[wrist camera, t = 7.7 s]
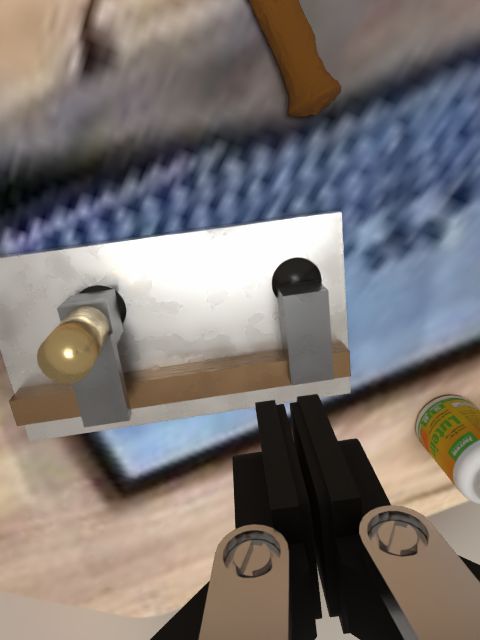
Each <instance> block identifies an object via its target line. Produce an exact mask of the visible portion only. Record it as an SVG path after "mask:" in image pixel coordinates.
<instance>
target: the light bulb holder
mask: <svg viewBox="0 0 480 640" xmlns="http://www.w3.org/2000/svg"><path fill="white" fill-rule="evenodd" d="M57 310H58V314H59V318H60V324H59V325H58V326H57V327H56V328H55V329H54V330H53V331H52V332H51V334H50V335H49V336H48V337H47V338H46V339H45V340H44V341H43V343H42V344H41V345H40V347H39V349H38V352H37V361H38V365H39V367H40V369H41V371H42V372H43V373H44V374H45V375H46V376H47V377H48V378H50V379H51V380H53V381H56V382H59V383H66V384H69V383H72V385H73V388H74V392H75V396H76V399H77V403H78V407H79V410H80V414H81V418H82V422H83V425H84V427H91V426H98V425H104V424H111V423H118V422H124V421H130V418H131V415H132V411H131V406H130V402H129V398H128V393H127V389H126V384H125V380H124V376H123V371H122V367H121V362H120V358H119V354H118V349H117V343H118V341H119V339H120V337H121V334H122V332H123V326H122V321H121V317H120V312H119V308H118V303H117V299H116V294H115V290H114V289H112V290H105V291H97V292H90V293H83V294H76V295H70V296H69V297H68V298H67V299H66V300H65V301H64V302H63V303H62V304H61V305H60V306H59V307H58V308H57Z"/></svg>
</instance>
